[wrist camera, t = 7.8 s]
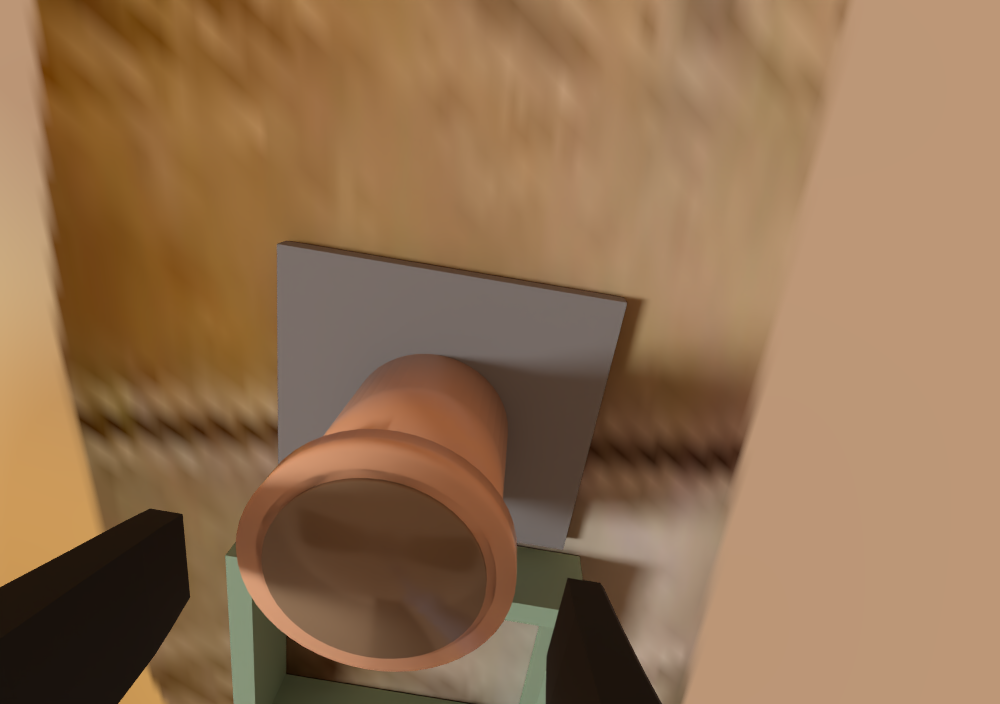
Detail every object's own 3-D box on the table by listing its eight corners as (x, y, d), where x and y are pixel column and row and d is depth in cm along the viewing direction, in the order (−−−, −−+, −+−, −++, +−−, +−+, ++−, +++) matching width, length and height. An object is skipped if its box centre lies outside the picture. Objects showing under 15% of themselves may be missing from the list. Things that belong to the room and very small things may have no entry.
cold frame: (532, 726, 22) (532, 795, 19) (267, 683, 21) (236, 747, 19) (579, 556, 18) (587, 614, 16) (264, 504, 18) (225, 555, 16)
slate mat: (561, 537, 18) (562, 549, 17) (286, 492, 18) (278, 503, 17) (623, 297, 15) (627, 302, 14) (286, 240, 15) (276, 243, 14)
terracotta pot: (505, 514, 17) (492, 695, 11) (336, 487, 17) (237, 655, 11) (535, 358, 15) (540, 483, 9) (343, 326, 15) (225, 431, 9)
